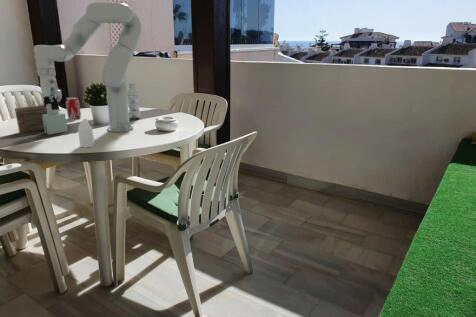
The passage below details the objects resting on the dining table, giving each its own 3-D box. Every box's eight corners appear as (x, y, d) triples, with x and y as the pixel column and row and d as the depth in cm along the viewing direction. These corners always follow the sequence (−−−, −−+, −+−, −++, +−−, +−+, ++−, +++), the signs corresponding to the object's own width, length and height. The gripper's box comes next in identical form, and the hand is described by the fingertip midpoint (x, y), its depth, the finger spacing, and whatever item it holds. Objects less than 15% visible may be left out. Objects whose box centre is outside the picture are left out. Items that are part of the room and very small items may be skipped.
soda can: (76, 120, 204) (73, 99, 200) (65, 119, 205) (62, 98, 202) (83, 117, 211) (81, 97, 207) (73, 117, 212) (70, 97, 208)
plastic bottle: (136, 116, 213) (133, 83, 207) (143, 118, 209) (140, 83, 202) (126, 118, 208) (123, 84, 202) (133, 120, 204) (130, 84, 198)
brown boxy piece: (56, 128, 184) (53, 105, 180) (22, 133, 173) (17, 109, 169) (49, 125, 191) (45, 103, 187) (15, 130, 180) (11, 106, 176)
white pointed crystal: (73, 119, 147) (83, 116, 152) (77, 146, 151) (87, 143, 156) (84, 120, 145) (94, 118, 150) (87, 148, 149) (97, 145, 154)
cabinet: (67, 131, 178) (63, 103, 173) (48, 134, 172) (43, 105, 167) (63, 129, 181) (59, 102, 177) (45, 132, 175) (40, 104, 171)
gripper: (61, 73, 164) (66, 109, 169) (48, 70, 176) (53, 105, 181) (44, 73, 159) (50, 111, 164) (31, 71, 170) (37, 106, 176)
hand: (51, 108), depth 173 cm, fingers open, 9 cm apart
